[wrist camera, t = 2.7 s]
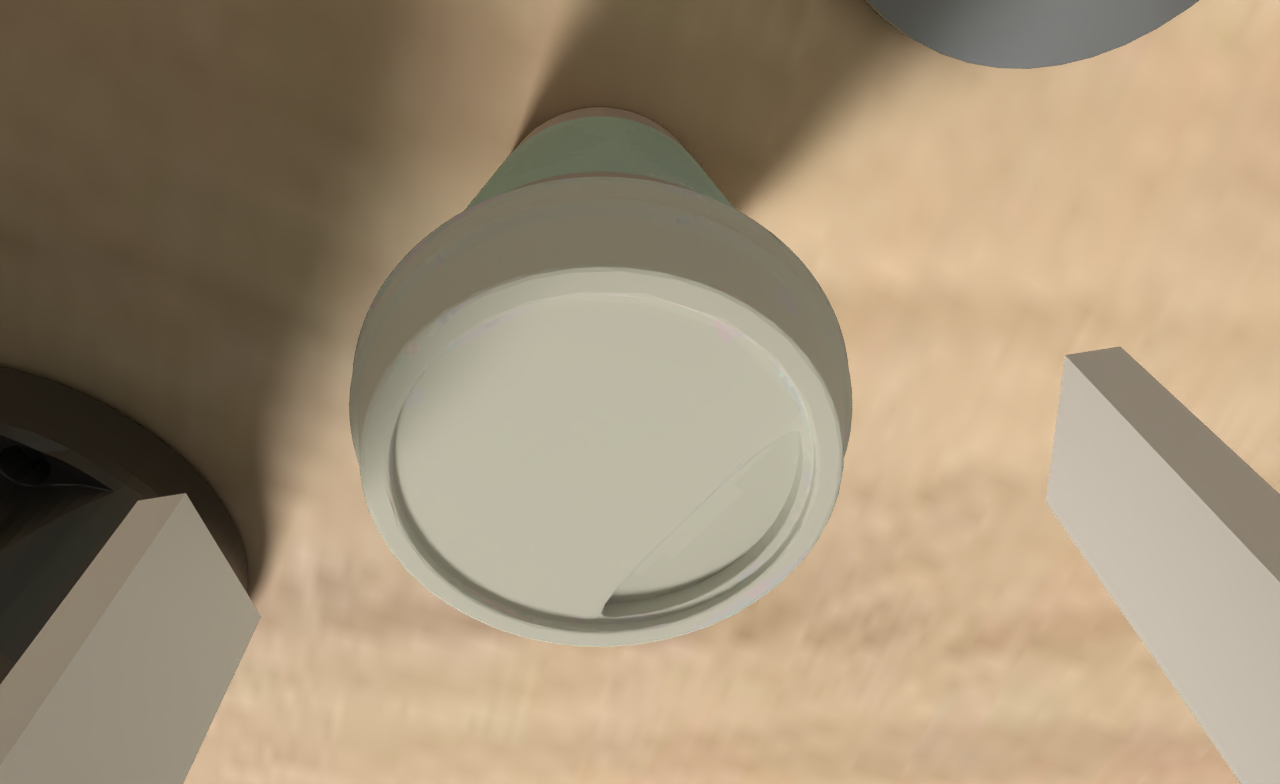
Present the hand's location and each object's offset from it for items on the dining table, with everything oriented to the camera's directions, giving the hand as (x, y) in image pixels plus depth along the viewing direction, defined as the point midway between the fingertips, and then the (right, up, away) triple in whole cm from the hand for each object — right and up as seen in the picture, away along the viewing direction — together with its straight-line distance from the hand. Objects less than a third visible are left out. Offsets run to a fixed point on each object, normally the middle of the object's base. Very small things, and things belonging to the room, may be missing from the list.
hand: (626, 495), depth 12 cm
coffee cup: (-1, +7, +10) cm, 12 cm away
